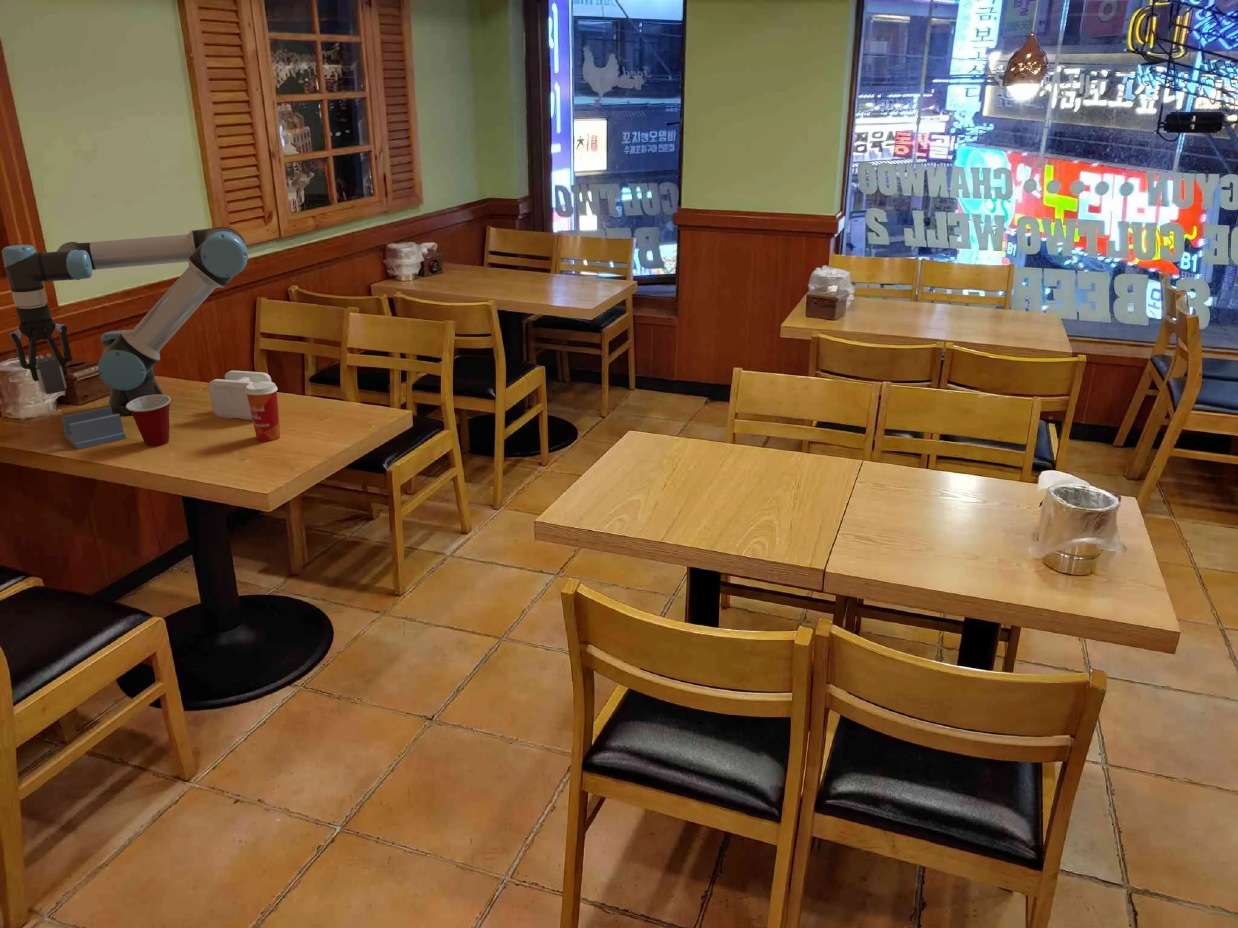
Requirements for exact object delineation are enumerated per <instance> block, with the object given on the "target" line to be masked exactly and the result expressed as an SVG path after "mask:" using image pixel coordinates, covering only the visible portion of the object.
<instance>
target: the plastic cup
mask: <svg viewBox="0 0 1238 928" xmlns="http://www.w3.org/2000/svg"><path fill="white" fill-rule="evenodd" d="M171 399H172V398H171V397H170V396H169V395H166V394H164V395H148V396H143V397H139V398H136V399H134V400H132V401H130V402H129V403H127V405H126V408H127V409H128V410H129V411H130V412H131V414H130V415H131V416H132V417H133V420H134V421H135V424H136V427H137V429H138V431H139V433H140V435H141V438H142V440H143V442H144V444H145V446H147V447H149V448H150V447H161V446H165V445H167V444H168V443H169V442H170V403H171Z"/></svg>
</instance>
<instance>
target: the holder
mask: <svg viewBox="0 0 1238 928" xmlns="http://www.w3.org/2000/svg"><path fill="white" fill-rule="evenodd" d="M61 421H62V425H63V428H64V432H63V433H64V437H65V439H66V441H68V442H70V444H71V445H72V446H73V447H74V448H75V449H76V450H82V449H87V448H90V447H95V446H99V445H105V444H109V443H112V442H119V441H123V440H126V439H127V436H126V435H127V434H126V433H125V431H124V427H123V423H122V422H123V421H122V418H121V414H115V413H112V409H111V407H110V406H109V405H108V406H104V407H100V408H94V409H90V410H86V411H85V410H84V411H79V412H75V413H70V414H65V415H61Z"/></svg>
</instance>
